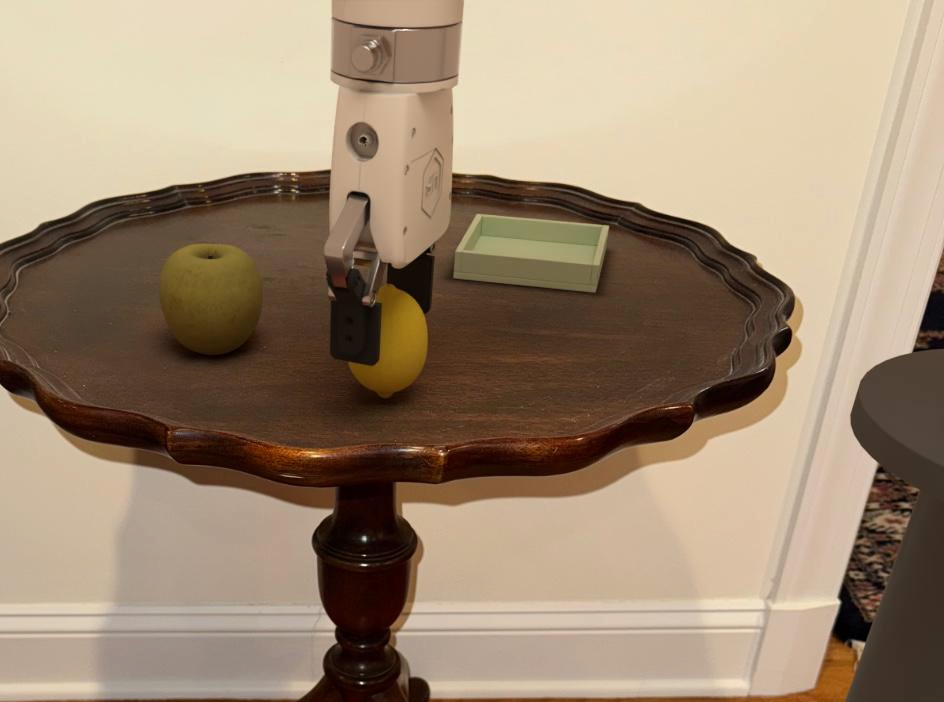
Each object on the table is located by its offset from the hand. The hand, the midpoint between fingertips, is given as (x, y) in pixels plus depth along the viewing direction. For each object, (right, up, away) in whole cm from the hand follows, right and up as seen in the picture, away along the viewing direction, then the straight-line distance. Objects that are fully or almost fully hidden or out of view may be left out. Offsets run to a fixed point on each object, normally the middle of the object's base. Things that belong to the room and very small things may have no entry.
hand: (382, 334), depth 75 cm
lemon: (0, -4, +3) cm, 5 cm away
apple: (-12, +1, +10) cm, 16 cm away
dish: (+14, +12, +25) cm, 31 cm away
